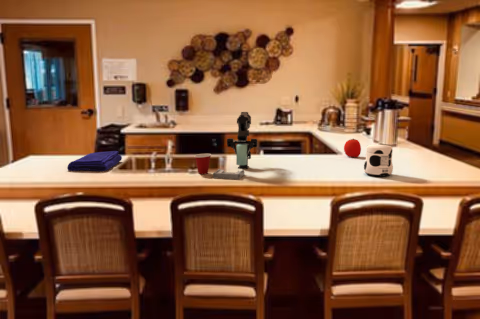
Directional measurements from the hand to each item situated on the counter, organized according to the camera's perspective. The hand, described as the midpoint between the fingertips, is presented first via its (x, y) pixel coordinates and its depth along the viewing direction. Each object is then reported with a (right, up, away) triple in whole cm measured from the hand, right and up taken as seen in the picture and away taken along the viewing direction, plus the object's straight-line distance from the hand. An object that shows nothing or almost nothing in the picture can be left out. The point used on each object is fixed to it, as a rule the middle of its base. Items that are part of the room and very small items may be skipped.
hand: (241, 154), depth 292 cm
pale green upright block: (0, -6, +3) cm, 7 cm away
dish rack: (-8, -14, +1) cm, 16 cm away
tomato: (+83, -2, +70) cm, 109 cm away
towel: (-97, -8, +30) cm, 102 cm away
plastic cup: (-24, -12, +9) cm, 29 cm away
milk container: (+85, -13, +8) cm, 86 cm away
